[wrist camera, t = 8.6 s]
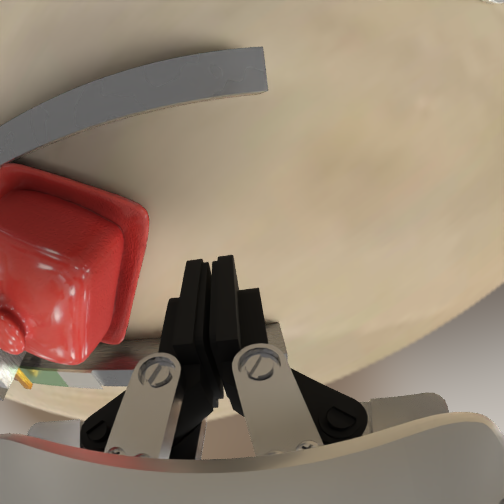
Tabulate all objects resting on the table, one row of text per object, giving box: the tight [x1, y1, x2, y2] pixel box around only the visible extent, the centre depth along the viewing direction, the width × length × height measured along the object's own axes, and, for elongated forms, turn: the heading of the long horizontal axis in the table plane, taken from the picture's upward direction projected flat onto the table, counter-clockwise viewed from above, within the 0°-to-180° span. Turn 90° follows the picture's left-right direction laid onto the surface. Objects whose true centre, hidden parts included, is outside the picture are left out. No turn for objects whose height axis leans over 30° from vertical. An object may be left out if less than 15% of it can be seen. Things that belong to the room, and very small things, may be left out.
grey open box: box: [0, 47, 287, 400], centre depth 13 cm, size 19×28×6 cm, turn 96°
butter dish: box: [0, 163, 149, 365], centre depth 12 cm, size 12×12×8 cm
